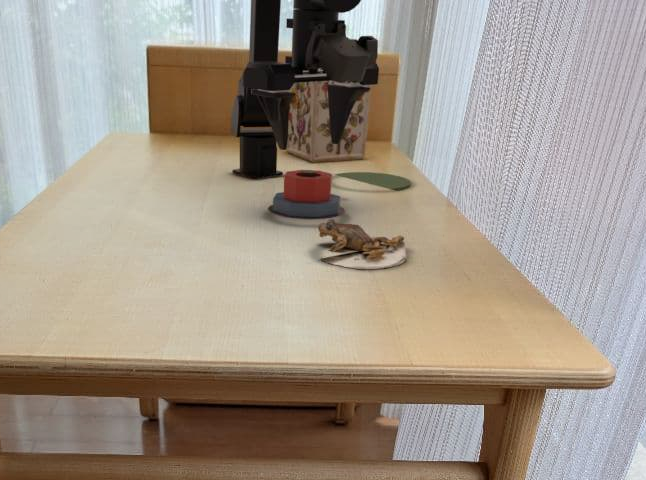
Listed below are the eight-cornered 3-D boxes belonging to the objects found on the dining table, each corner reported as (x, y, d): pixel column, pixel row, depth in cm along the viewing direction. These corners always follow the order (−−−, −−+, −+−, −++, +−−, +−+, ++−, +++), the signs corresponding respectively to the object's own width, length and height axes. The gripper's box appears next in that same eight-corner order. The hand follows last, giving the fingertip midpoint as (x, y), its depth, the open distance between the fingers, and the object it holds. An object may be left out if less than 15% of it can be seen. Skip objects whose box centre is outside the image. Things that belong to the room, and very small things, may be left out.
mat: (309, 179, 138) (309, 177, 137) (370, 171, 145) (370, 169, 144) (365, 195, 128) (366, 192, 128) (428, 185, 135) (428, 183, 135)
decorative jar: (311, 163, 150) (316, 49, 140) (283, 152, 159) (287, 44, 149) (367, 159, 154) (376, 48, 144) (337, 149, 163) (344, 44, 153)
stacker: (252, 213, 117) (252, 168, 113) (311, 204, 122) (313, 161, 119) (300, 230, 110) (302, 182, 106) (361, 219, 115) (364, 174, 112)
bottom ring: (261, 206, 116) (261, 195, 115) (311, 199, 121) (311, 187, 120) (301, 220, 110) (302, 207, 109) (352, 211, 115) (353, 199, 114)
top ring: (275, 195, 115) (275, 172, 113) (310, 190, 118) (311, 168, 116) (303, 204, 111) (305, 180, 109) (339, 199, 114) (341, 176, 112)
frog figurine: (307, 266, 96) (309, 232, 94) (319, 240, 106) (320, 208, 103) (405, 272, 94) (409, 238, 92) (408, 245, 104) (411, 214, 102)
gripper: (298, 12, 92) (292, 162, 101) (415, 12, 101) (400, 149, 110) (240, 9, 99) (240, 149, 108) (355, 8, 109) (346, 138, 118)
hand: (309, 146), depth 111 cm, fingers open, 9 cm apart
